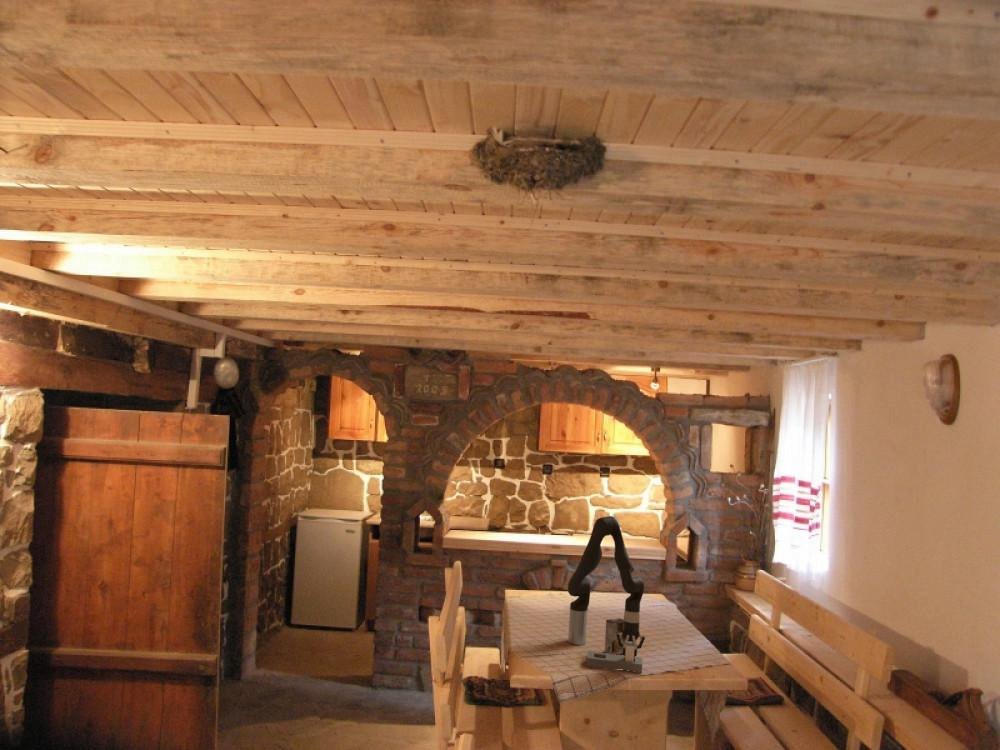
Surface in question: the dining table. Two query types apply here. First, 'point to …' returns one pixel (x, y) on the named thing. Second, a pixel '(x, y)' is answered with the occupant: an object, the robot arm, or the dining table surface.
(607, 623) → the coffee box
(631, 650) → the plug
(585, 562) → the robot arm
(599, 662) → the jack board
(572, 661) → the dining table surface
